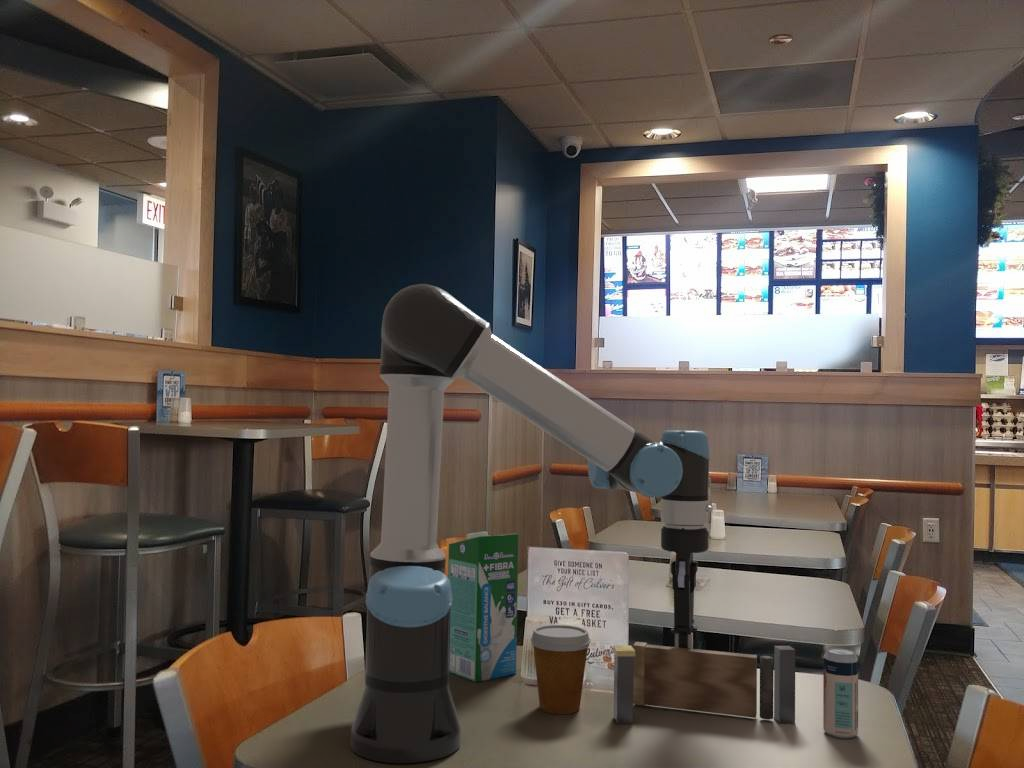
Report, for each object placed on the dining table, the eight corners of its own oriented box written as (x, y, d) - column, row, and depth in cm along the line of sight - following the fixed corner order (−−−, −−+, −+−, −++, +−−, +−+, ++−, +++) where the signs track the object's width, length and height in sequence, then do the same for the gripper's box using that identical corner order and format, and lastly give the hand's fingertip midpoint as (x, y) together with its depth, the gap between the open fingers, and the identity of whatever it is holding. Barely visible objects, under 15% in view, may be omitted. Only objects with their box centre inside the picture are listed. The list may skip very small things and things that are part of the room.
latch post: (615, 724, 134) (616, 651, 135) (612, 716, 138) (612, 645, 138) (634, 724, 134) (635, 651, 135) (630, 716, 138) (631, 645, 138)
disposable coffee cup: (586, 720, 136) (587, 639, 137) (524, 715, 138) (525, 635, 138) (593, 701, 145) (594, 626, 146) (535, 696, 147) (536, 622, 148)
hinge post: (779, 723, 136) (779, 649, 137) (774, 718, 139) (774, 645, 139) (795, 723, 136) (795, 649, 137) (789, 718, 139) (789, 645, 139)
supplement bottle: (842, 727, 135) (842, 646, 135) (865, 737, 130) (865, 654, 131) (816, 730, 133) (816, 648, 134) (838, 741, 129) (839, 656, 129)
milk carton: (485, 663, 167) (487, 527, 168) (516, 674, 160) (519, 532, 161) (445, 671, 162) (448, 530, 163) (476, 682, 155) (479, 536, 156)
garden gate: (773, 715, 138) (773, 655, 138) (772, 720, 136) (773, 658, 136) (635, 699, 145) (636, 641, 145) (632, 703, 143) (633, 645, 143)
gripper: (705, 531, 138) (704, 687, 137) (710, 522, 151) (710, 665, 150) (656, 529, 140) (655, 682, 139) (665, 520, 153) (664, 661, 152)
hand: (683, 673), depth 145 cm, fingers closed
